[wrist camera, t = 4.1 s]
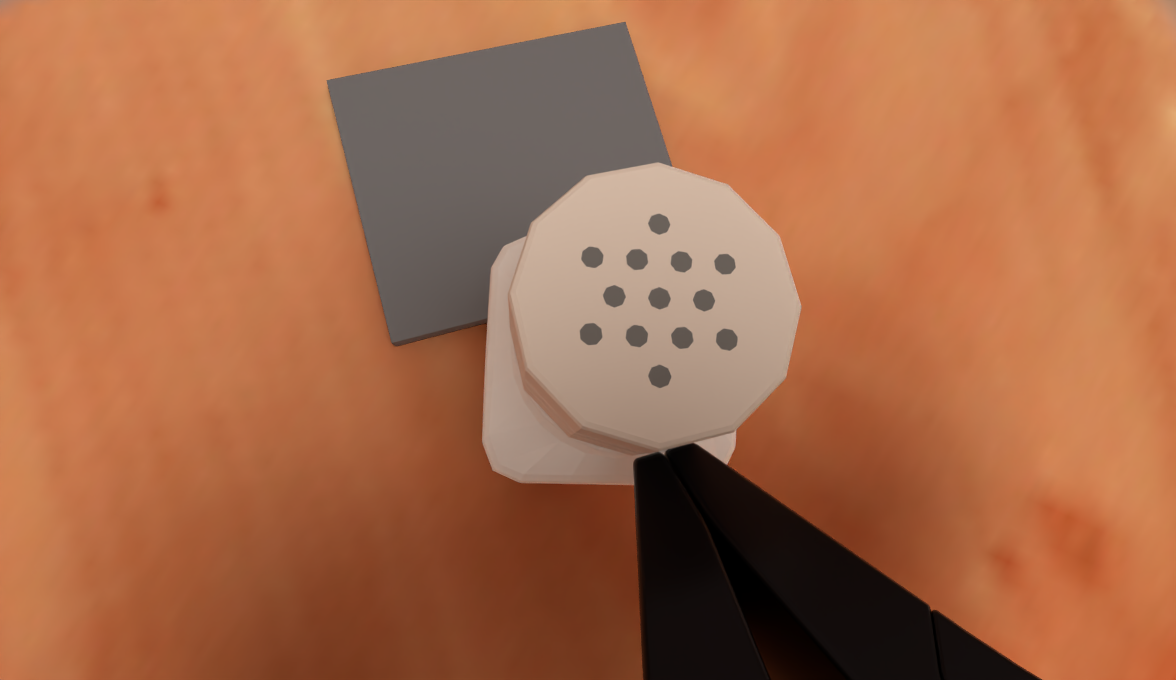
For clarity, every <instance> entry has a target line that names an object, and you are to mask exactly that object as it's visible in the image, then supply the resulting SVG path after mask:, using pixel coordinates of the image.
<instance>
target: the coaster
mask: <svg viewBox="0 0 1176 680" xmlns="http://www.w3.org/2000/svg"><path fill="white" fill-rule="evenodd" d="M327 84H328V88H329V92H330V96H331V100H332V104H333V108H334V112H335V116H336V120H337V124H338V128H339V133H340V137H341V141H342V145H343V149H344V153H345V157H346V161H347V165H348V169H349V173H350V177H351V181H352V185H353V189H354V193H355V197H356V201H357V205H358V209H359V213H360V217H361V221H362V225H363V229H364V233H365V237H366V241H367V246H368V250H369V254H370V258H371V262H372V266H373V270H374V274H375V278H376V282H377V286H378V290H379V294H380V298H381V302H382V306H383V310H384V314H385V318H386V322H387V326H388V330H389V334H390V338H391V342H392V344H393V345H394V346H399V345H403V344H407V343H411V342H415V341H418V340H422V339H426V338H430V337H434V336H438V335H442V334H445V333H449V332H453V331H457V330H461V329H465V328H469V327H472V326H476V325H480V324H484V323H487V321H488V304H489V289H490V274H491V267H492V265H493V263H494V262H495V260H496V258H497V256H498V255H499V253H500V251H501V250H502V248H503V246H505V245H507V244H509V243H512V242H514V241H516V240H518V239H521V238H523V237H525V236H527V233H528V230H529V227H530V224H531V222H532V221H534V220H535V219H536V218H537V217H538V216H539V215H541V214H542V213H543V212H544V211H545V210H546V209H548V208H549V207H550V206H551V205H552V204H554V203H555V202H556V201H557V200H558V199H559V198H561V197H562V196H563V195H564V194H565V193H566V192H568V191H569V190H570V189H571V188H572V187H573V186H575V185H576V184H577V183H578V182H579V181H580V180H582V179H583V178H584V177H585V176H587V175H592V174H598V173H603V172H609V171H614V170H620V169H625V168H630V167H636V166H641V165H647V164H652V163H657V162H659V163H662V164H665V165H668V166H671V167H672V164H671V161H670V158H669V155H668V152H667V149H666V145H665V142H664V139H663V136H662V133H661V130H660V127H659V124H658V121H657V118H656V115H655V112H654V109H653V105H652V102H651V99H650V96H649V93H648V90H647V87H646V84H645V81H644V78H643V75H642V72H641V69H640V65H639V62H638V59H637V56H636V53H635V50H634V47H633V44H632V41H631V38H630V35H629V32H628V29H627V25H626V22H622V23H617V24H612V25H607V26H602V27H597V28H591V29H586V30H581V31H576V32H571V33H566V34H561V35H556V36H551V37H545V38H540V39H535V40H530V41H525V42H520V43H515V44H510V45H505V46H499V47H494V48H489V49H484V50H479V51H474V52H469V53H464V54H459V55H453V56H448V57H443V58H438V59H433V60H428V61H423V62H418V63H413V64H407V65H402V66H397V67H392V68H387V69H382V70H377V71H372V72H367V73H361V74H356V75H351V76H346V77H341V78H336V79H331V80H327Z"/></svg>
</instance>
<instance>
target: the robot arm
mask: <svg viewBox="0 0 1176 680" xmlns="http://www.w3.org/2000/svg"><path fill="white" fill-rule="evenodd" d="M633 475H634V497H635V518H636V540H637V561H638V582H639V604H640V625H641V646H642V668H643V680H1042V679H1040V678H1039V677H1037V676H1035V675H1034V674H1032V673H1030V672H1029V671H1027V670H1025V669H1024V668H1022V667H1020V666H1019V665H1017V664H1016V663H1014V662H1013V661H1011V660H1010V659H1008V658H1007V657H1005V656H1004V655H1002V654H1001V653H999V652H998V651H996V650H995V649H993V648H992V647H990V646H989V645H987V644H986V643H984V642H983V641H981V640H979V639H978V638H976V637H975V636H973V635H972V634H970V633H969V632H967V631H966V630H965V629H963V628H962V627H960V626H959V625H957V624H956V623H954V622H953V621H952V620H950V619H949V618H947V617H946V616H944V615H943V614H942V613H940V612H939V611H937V610H932V611H931V609H930V606H929V605H928V604H927V603H925V602H924V601H922V600H921V599H920V598H918V597H917V596H915V595H914V594H912V593H911V592H909V591H908V590H907V589H905V588H904V587H902V586H901V585H899V584H898V583H897V582H895V581H894V580H892V579H891V578H889V577H888V576H886V575H885V574H884V573H882V572H881V571H879V570H878V569H876V568H875V567H873V566H872V565H871V564H869V563H868V562H866V561H865V560H863V559H862V558H860V557H859V556H858V555H856V554H855V553H853V552H852V551H850V550H849V549H848V548H846V547H845V546H843V545H842V544H840V543H839V542H837V541H836V540H835V539H833V538H832V537H830V536H829V535H827V534H826V533H824V532H823V531H822V530H820V529H819V528H817V527H816V526H814V525H813V524H812V523H810V522H809V521H807V520H806V519H804V518H803V517H801V516H800V515H799V514H797V513H796V512H794V511H793V510H791V509H790V508H788V507H787V506H786V505H784V504H783V503H781V502H780V501H778V500H777V499H775V498H774V497H773V496H771V495H770V494H768V493H767V492H765V491H764V490H763V489H761V488H760V487H758V486H757V485H755V484H754V483H752V482H751V481H750V480H748V479H747V478H745V477H744V476H742V475H741V474H739V473H738V472H737V471H735V470H734V469H732V468H731V467H729V466H728V465H727V464H725V463H724V462H722V461H721V460H719V459H718V458H716V457H715V456H714V455H712V454H711V453H709V452H708V451H706V450H705V449H703V448H702V447H701V446H699V445H698V444H696V443H690V444H686V445H682V446H679V447H675V448H671V449H668V450H667V451H665V453H664V454H662V453H661V452H655V453H652V454H648V455H645V456H642V457H638V458H636V459H635V460H634V462H633Z"/></svg>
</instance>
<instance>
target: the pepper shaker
mask: <svg viewBox="0 0 1176 680" xmlns="http://www.w3.org/2000/svg"><path fill="white" fill-rule="evenodd" d="M800 311H801V303H800V300H799V297H798V294H797V290H796V287H795V284H794V281H793V278H792V274H791V271H790V268H789V265H788V262H787V258H786V255H785V252H784V249H783V245H782V242H781V239H780V236H779V235H778V234H777V233H776V232H775V231H774V230H773V229H772V228H771V227H770V226H769V225H768V224H767V223H766V222H765V221H764V220H763V219H762V218H761V217H760V216H759V215H758V214H757V213H756V212H755V211H754V210H753V209H752V208H751V207H750V206H749V205H748V204H747V203H746V202H745V201H744V200H743V199H742V198H741V197H740V196H739V195H738V194H737V193H736V192H735V191H734V190H733V189H732V188H731V187H730V186H729V185H728V184H725V183H722V182H718V181H715V180H712V179H709V178H706V177H703V176H700V175H696V174H693V173H690V172H687V171H684V170H681V169H678V168H674V167H671V166H668V165H665V164H662V163H659V162H657V163H652V164H647V165H641V166H636V167H630V168H625V169H620V170H614V171H609V172H603V173H598V174H592V175H587V176H585V177H584V178H583V179H582V180H580V181H579V182H578V183H577V184H576V185H575V186H573V187H572V188H571V189H570V190H569V191H568V192H566V193H565V194H564V195H563V196H562V197H561V198H559V199H558V200H557V201H556V202H555V203H554V204H552V205H551V206H550V207H549V208H548V209H546V210H545V211H544V212H543V213H542V214H541V215H539V216H538V217H537V218H536V219H535V220H534V221H532V222H531V224H530V227H529V230H528V233H527V236H525V237H523V238H521V239H518V240H516V241H514V242H512V243H509V244H507V245H505V246H503V248H502V250H501V251H500V253H499V255H498V256H497V258H496V260H495V262H494V263H493V265H492V267H491V274H490V289H489V304H488V321H487V338H486V357H485V378H484V402H483V429H482V444H483V446H484V449H485V452H486V454H487V457H488V460H489V462H490V465H491V468H492V470H493V471H495V472H497V473H499V474H501V475H503V476H506V477H508V478H510V479H512V480H514V481H517V482H519V483H549V484H598V485H634V475H633V462H634V460H635V459H636V458H638V457H642V456H645V455H648V454H652V453H655V452H661V453H662V454H664V453H665V451H667V450H668V449H671V448H675V447H679V446H682V445H686V444H690V443H696V444H698V445H699V446H701V447H702V448H703V449H705V450H706V451H708V452H709V453H711V454H712V455H714V456H715V457H716V458H718V459H719V460H721V461H722V462H724V463H725V464H728V462H729V460H730V458H731V455H732V453H733V451H734V449H735V447H736V430H737V429H738V428H739V427H740V426H741V425H742V423H743V422H744V421H745V420H746V419H747V418H748V417H749V416H750V415H751V414H752V413H753V412H754V411H755V410H756V409H757V408H758V407H759V406H760V405H761V404H762V403H763V402H764V401H765V400H766V399H767V398H768V396H769V395H770V394H771V393H772V392H773V391H774V390H775V389H776V388H777V387H778V386H779V385H780V384H781V383H782V382H783V381H784V380H785V379H786V375H787V370H788V366H789V361H790V357H791V352H792V348H793V343H794V339H795V334H796V329H797V325H798V320H799V316H800Z"/></svg>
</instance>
